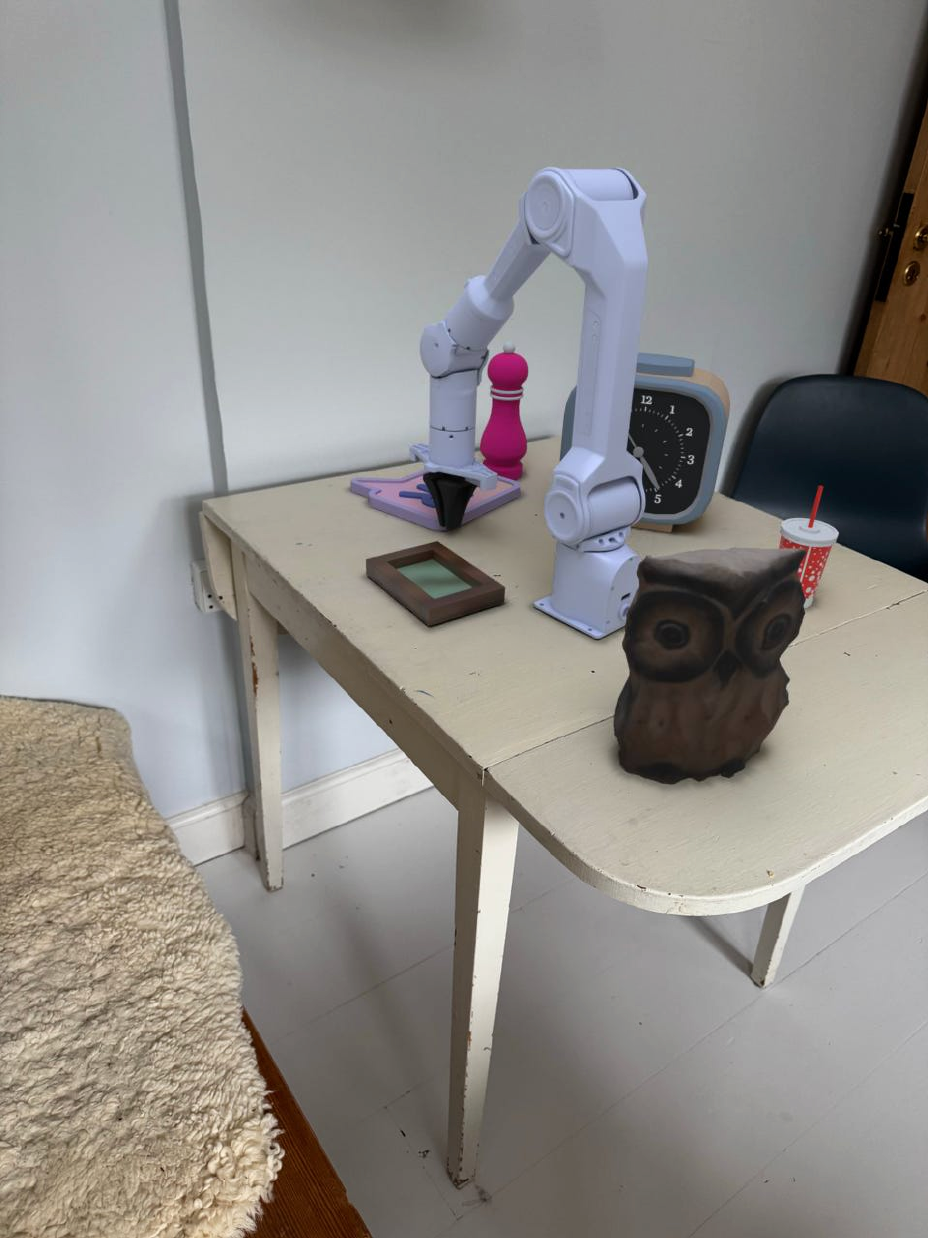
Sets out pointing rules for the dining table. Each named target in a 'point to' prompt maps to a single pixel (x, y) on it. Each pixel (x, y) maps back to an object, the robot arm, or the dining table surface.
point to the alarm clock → (671, 437)
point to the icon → (428, 498)
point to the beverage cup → (809, 547)
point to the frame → (435, 582)
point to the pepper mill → (505, 415)
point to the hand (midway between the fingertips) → (450, 526)
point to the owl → (706, 660)
